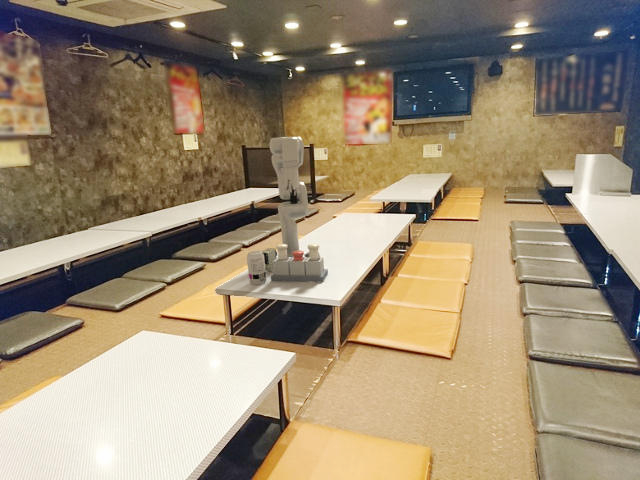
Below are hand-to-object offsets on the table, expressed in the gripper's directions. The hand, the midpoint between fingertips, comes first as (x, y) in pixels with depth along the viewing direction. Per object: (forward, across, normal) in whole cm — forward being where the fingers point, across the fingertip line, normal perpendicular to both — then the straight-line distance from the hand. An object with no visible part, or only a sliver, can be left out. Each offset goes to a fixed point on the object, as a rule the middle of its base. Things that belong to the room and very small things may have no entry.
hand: (294, 203), depth 201 cm
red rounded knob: (+32, 0, 0) cm, 32 cm away
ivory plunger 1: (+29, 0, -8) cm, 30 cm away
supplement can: (+37, +8, -19) cm, 43 cm away
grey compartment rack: (+37, 0, 0) cm, 37 cm away
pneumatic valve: (+37, -11, -20) cm, 44 cm away
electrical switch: (+37, -18, +3) cm, 42 cm away
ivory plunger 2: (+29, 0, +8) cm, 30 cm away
